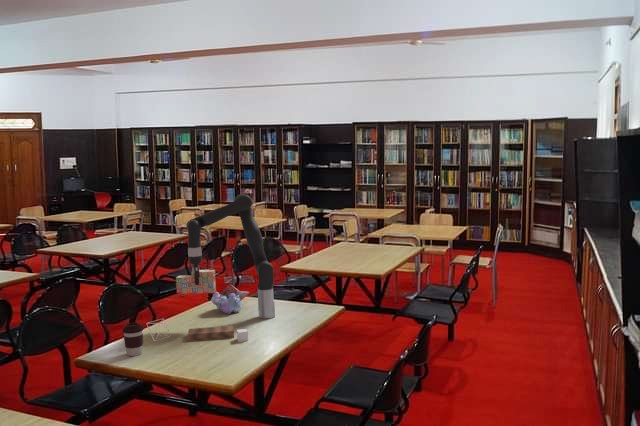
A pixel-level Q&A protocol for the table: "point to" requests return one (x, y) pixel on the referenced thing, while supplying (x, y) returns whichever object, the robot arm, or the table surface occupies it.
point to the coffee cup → (133, 338)
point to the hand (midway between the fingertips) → (196, 283)
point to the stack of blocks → (205, 282)
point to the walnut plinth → (211, 333)
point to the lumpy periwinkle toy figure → (229, 299)
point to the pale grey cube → (242, 335)
